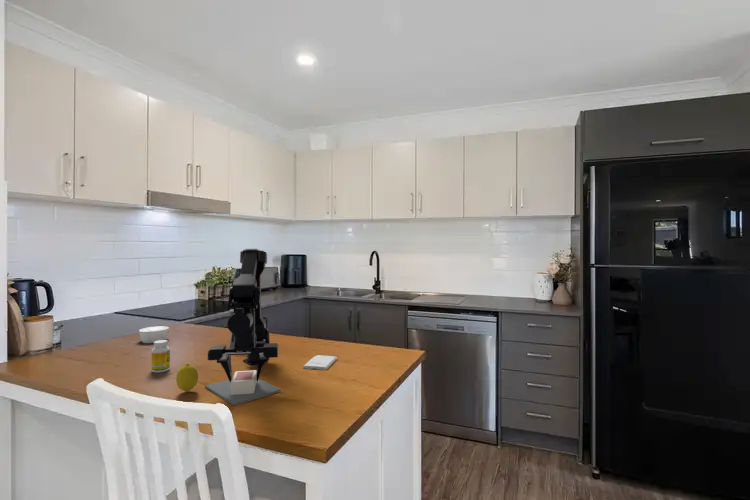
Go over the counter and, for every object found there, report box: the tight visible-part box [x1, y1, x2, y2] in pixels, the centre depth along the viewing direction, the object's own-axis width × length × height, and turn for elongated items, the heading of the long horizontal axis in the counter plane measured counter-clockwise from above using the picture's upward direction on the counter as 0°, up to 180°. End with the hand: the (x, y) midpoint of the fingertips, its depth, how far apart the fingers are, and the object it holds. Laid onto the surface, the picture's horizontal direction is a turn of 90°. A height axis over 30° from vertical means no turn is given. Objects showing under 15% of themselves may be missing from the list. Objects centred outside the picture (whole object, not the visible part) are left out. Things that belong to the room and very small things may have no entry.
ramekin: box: [138, 325, 170, 344], centre depth 168 cm, size 11×11×5 cm
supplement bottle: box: [150, 339, 171, 374], centre depth 129 cm, size 5×5×10 cm
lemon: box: [175, 363, 199, 393], centre depth 110 cm, size 6×6×8 cm
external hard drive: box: [302, 354, 338, 371], centre depth 137 cm, size 2×8×12 cm
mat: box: [204, 378, 282, 406], centre depth 112 cm, size 18×14×1 cm
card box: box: [231, 369, 257, 395], centre depth 111 cm, size 6×9×4 cm, turn 12°
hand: (244, 381), depth 111 cm, fingers open, 7 cm apart
